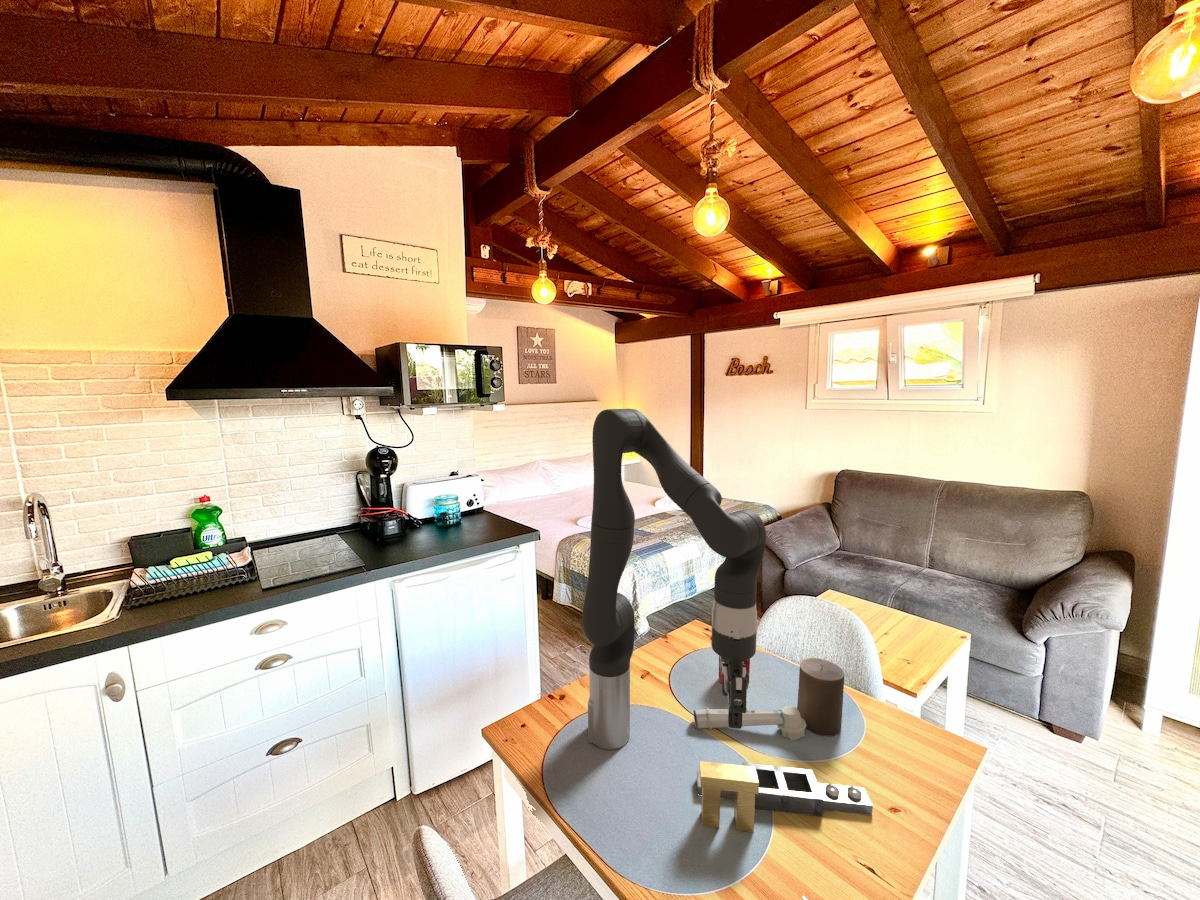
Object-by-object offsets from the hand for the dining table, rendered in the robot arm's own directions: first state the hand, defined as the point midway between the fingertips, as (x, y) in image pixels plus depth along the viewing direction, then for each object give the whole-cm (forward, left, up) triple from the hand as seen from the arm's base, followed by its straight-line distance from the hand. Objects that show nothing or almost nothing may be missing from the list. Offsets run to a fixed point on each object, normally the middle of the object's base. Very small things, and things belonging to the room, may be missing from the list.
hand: (731, 710), depth 84 cm
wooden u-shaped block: (0, 0, -22) cm, 22 cm away
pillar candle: (+25, +30, -22) cm, 45 cm away
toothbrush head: (+8, +25, -23) cm, 34 cm away
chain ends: (+11, +7, -22) cm, 26 cm away
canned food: (+7, +43, -22) cm, 49 cm away
